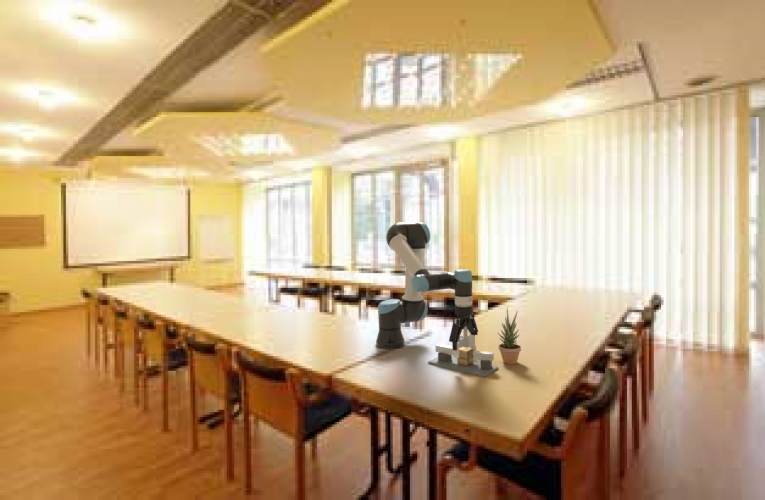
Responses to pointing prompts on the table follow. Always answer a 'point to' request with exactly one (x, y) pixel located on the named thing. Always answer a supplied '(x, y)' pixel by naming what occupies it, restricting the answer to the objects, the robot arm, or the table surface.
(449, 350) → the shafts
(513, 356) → the potted plant
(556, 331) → the table surface
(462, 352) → the tan cardboard block
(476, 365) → the shaft bench
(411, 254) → the robot arm
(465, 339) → the engine component
